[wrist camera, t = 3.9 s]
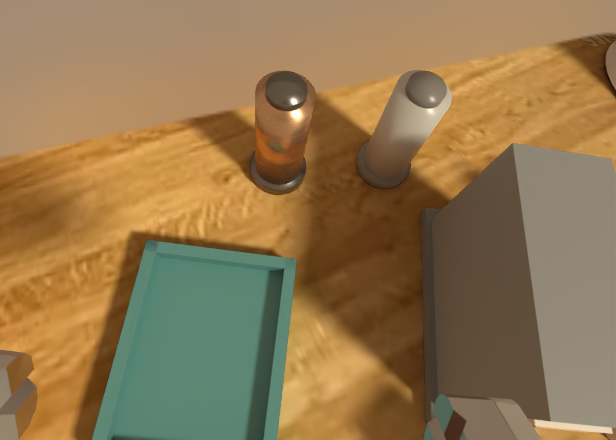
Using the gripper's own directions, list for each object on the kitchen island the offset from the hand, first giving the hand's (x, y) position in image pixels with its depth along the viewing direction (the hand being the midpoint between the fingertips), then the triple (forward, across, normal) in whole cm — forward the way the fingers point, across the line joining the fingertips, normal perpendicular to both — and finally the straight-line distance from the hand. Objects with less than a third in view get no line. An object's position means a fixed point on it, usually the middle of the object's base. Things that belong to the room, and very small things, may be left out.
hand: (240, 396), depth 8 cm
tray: (+16, +3, +13) cm, 21 cm away
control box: (+19, -16, +9) cm, 27 cm away
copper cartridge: (+26, 0, +2) cm, 26 cm away
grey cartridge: (+28, -9, +1) cm, 29 cm away
